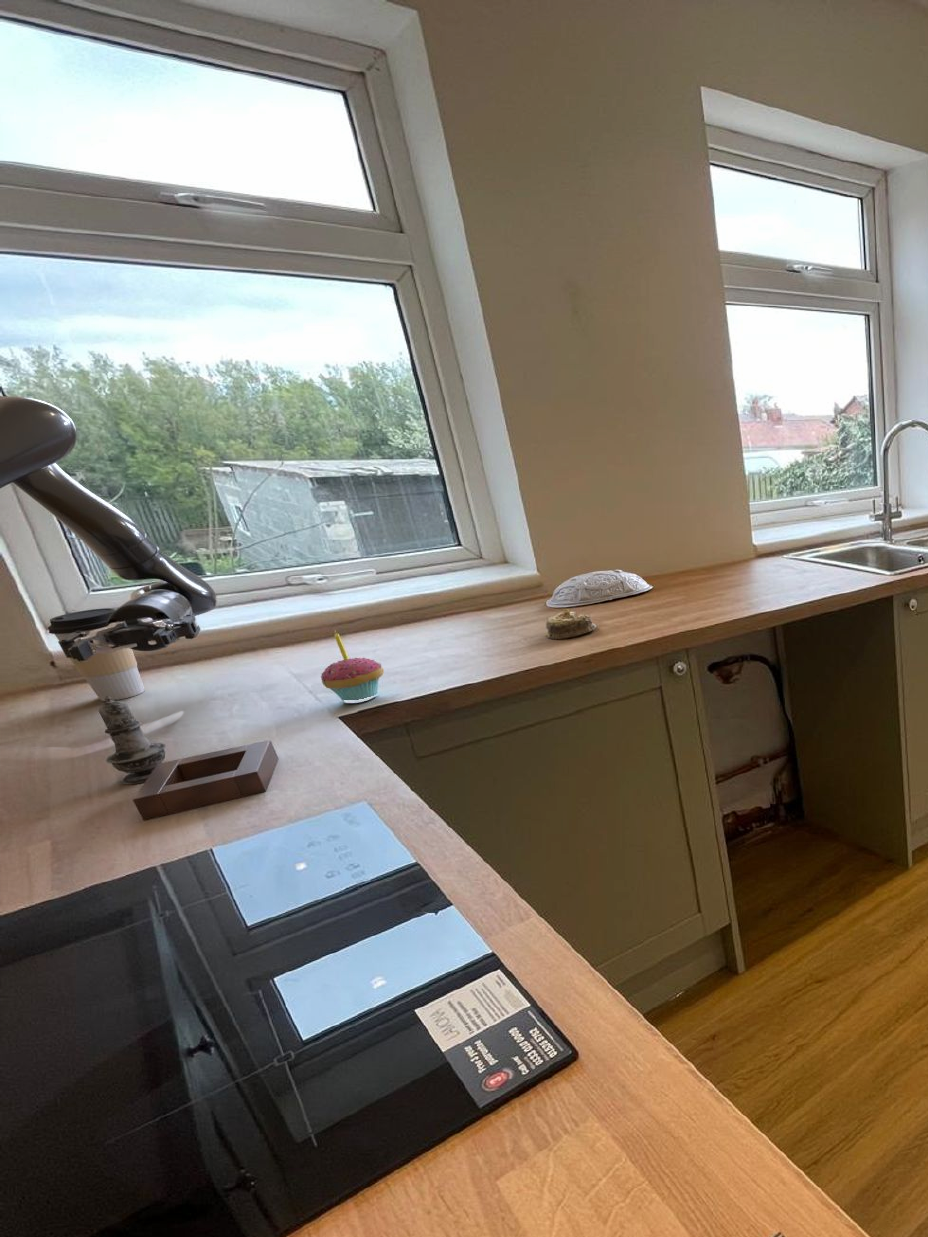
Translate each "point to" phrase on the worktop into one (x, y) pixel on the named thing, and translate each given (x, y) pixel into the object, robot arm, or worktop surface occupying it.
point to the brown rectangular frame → (206, 779)
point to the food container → (596, 588)
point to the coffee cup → (101, 657)
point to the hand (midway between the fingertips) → (119, 647)
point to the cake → (568, 625)
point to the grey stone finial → (130, 743)
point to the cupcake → (352, 676)
